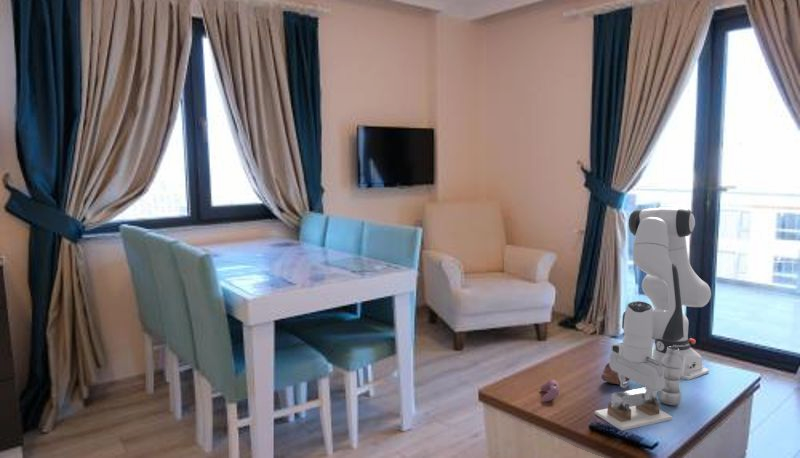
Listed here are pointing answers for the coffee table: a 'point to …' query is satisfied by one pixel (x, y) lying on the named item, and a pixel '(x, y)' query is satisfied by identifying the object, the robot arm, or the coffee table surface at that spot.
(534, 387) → the coffee table surface
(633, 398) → the grey long cylinder
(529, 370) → the coffee table surface
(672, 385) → the plastic bottle
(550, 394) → the video game controller
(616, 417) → the spanner rack
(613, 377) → the stone
